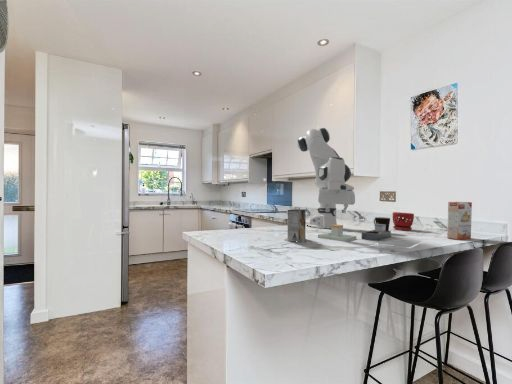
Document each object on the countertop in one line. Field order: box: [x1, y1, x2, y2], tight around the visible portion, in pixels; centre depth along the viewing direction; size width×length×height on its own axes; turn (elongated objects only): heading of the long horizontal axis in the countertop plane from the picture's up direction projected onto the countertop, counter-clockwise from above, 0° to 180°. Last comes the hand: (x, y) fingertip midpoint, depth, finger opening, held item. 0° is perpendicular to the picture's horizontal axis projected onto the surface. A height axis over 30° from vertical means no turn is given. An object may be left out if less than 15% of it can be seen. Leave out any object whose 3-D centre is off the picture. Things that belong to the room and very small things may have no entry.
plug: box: [330, 223, 344, 238], centre depth 147 cm, size 4×5×7 cm
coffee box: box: [287, 208, 307, 243], centre depth 141 cm, size 9×6×16 cm
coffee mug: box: [373, 216, 391, 231], centre depth 171 cm, size 12×9×10 cm
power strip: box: [361, 229, 392, 242], centre depth 150 cm, size 8×20×4 cm, turn 135°
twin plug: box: [374, 223, 386, 232], centre depth 153 cm, size 4×5×7 cm
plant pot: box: [392, 211, 415, 231], centre depth 191 cm, size 13×13×12 cm
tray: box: [317, 232, 357, 242], centre depth 147 cm, size 16×12×2 cm
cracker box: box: [446, 201, 473, 241], centre depth 155 cm, size 14×6×21 cm, turn 117°
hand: (335, 212), depth 147 cm, fingers open, 8 cm apart
